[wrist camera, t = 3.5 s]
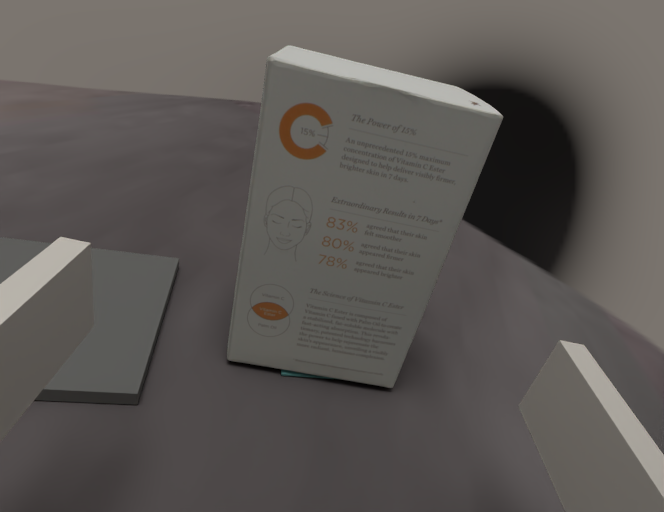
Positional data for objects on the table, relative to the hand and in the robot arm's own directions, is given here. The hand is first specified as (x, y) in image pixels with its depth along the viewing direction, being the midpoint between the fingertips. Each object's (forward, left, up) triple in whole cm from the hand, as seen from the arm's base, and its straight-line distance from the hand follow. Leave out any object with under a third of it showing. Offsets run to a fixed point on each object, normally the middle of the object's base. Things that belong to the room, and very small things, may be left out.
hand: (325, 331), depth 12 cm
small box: (-2, -8, -7) cm, 11 cm away
